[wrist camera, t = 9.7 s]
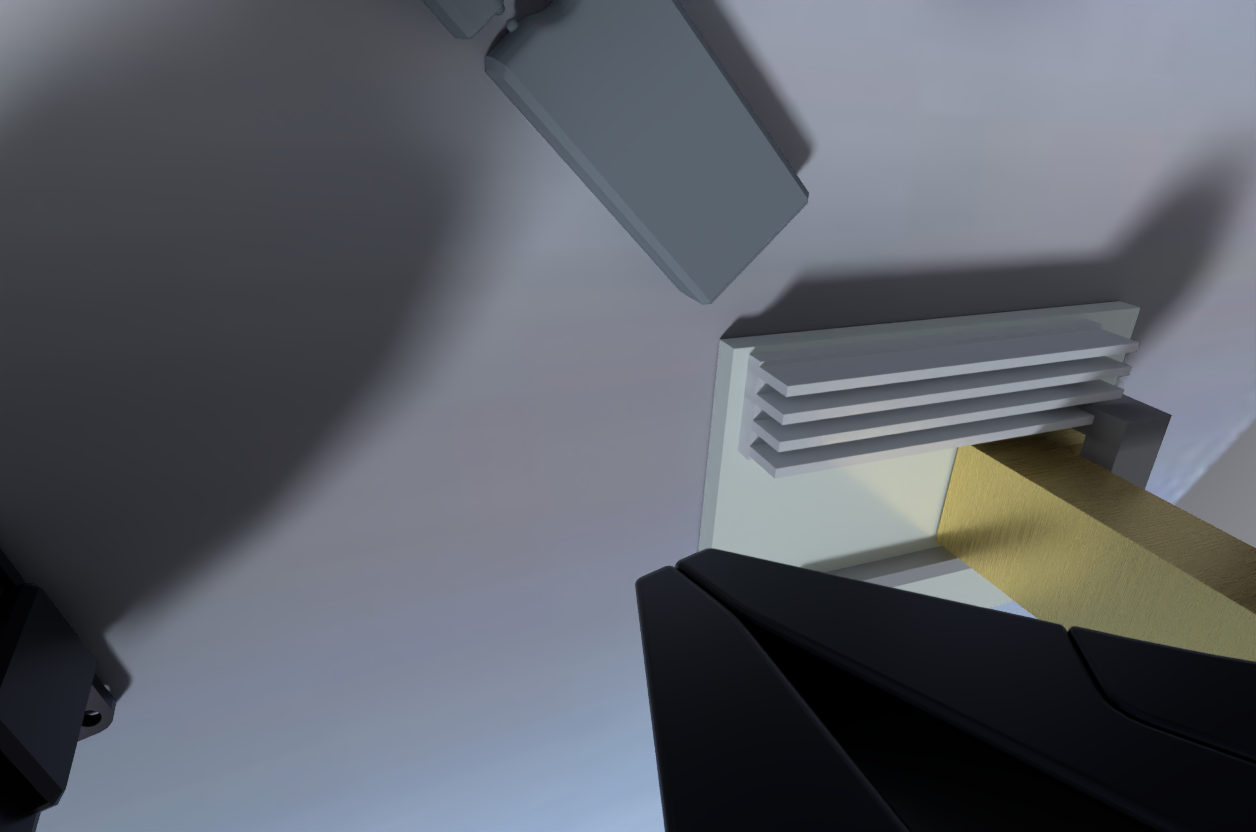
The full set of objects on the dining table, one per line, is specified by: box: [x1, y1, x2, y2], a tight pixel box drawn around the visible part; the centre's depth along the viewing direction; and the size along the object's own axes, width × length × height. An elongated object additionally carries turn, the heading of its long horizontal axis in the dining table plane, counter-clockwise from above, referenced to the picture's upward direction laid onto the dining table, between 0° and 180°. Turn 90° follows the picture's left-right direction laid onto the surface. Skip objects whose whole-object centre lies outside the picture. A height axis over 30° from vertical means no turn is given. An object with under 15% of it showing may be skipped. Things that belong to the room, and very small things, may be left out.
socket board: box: [698, 301, 1172, 608], centre depth 26 cm, size 16×12×4 cm
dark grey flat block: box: [422, 0, 809, 304], centre depth 18 cm, size 4×10×2 cm, turn 42°
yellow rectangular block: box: [935, 428, 1256, 661], centre depth 24 cm, size 6×4×11 cm, turn 87°
